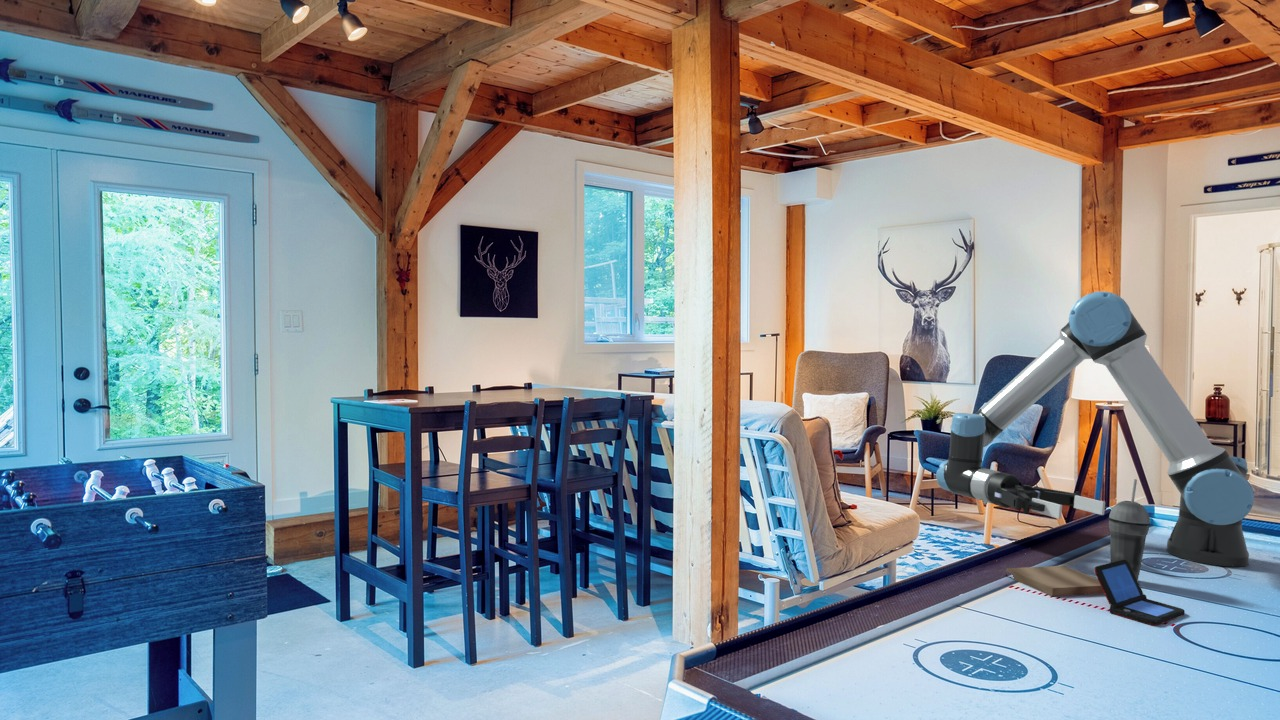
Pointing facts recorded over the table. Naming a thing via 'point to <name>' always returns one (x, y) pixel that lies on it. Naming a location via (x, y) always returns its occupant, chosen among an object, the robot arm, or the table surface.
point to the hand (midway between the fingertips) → (1082, 510)
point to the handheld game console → (1131, 595)
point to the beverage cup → (1128, 532)
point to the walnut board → (1057, 580)
